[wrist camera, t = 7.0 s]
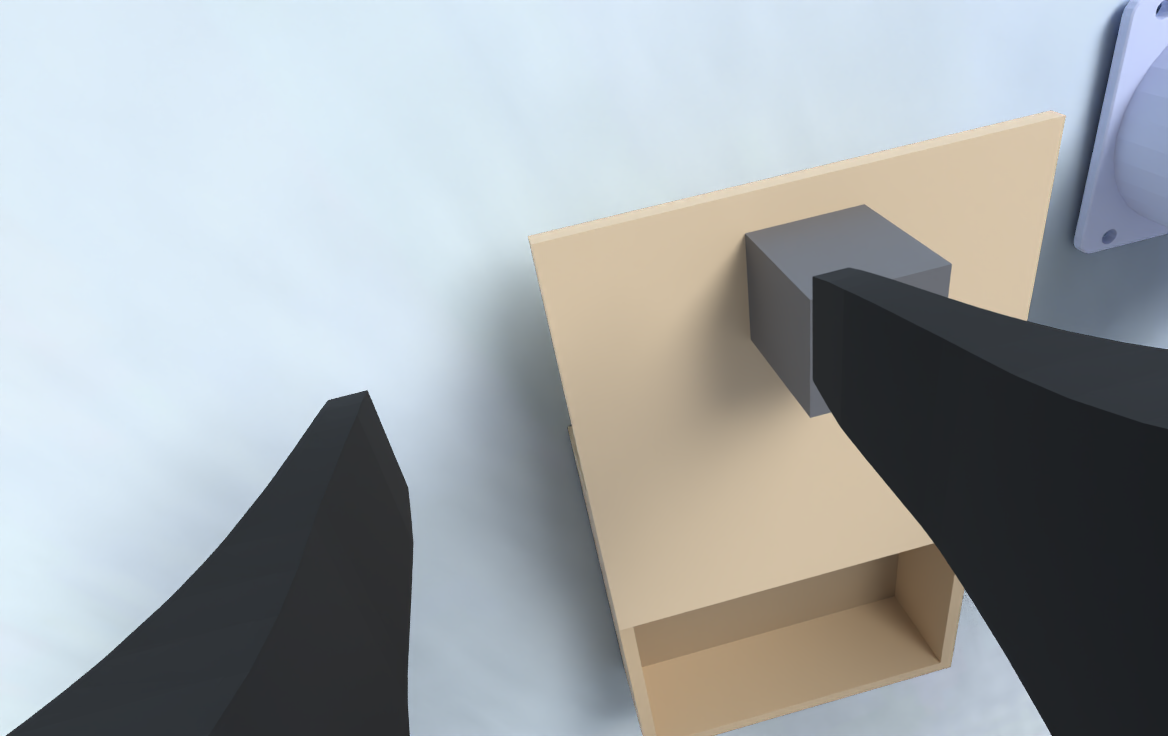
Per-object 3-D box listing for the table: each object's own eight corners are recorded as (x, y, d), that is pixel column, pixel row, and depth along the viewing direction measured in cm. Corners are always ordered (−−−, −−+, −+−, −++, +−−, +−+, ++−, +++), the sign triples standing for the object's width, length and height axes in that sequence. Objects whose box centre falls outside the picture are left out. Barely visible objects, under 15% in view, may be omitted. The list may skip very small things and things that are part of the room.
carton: (924, 334, 26) (997, 397, 23) (898, 591, 34) (950, 666, 31) (567, 426, 25) (590, 506, 22) (624, 668, 33) (647, 754, 30)
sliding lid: (1050, 110, 18) (1194, 159, 15) (979, 517, 26) (1062, 610, 22) (527, 236, 17) (554, 317, 14) (616, 618, 25) (647, 728, 22)
